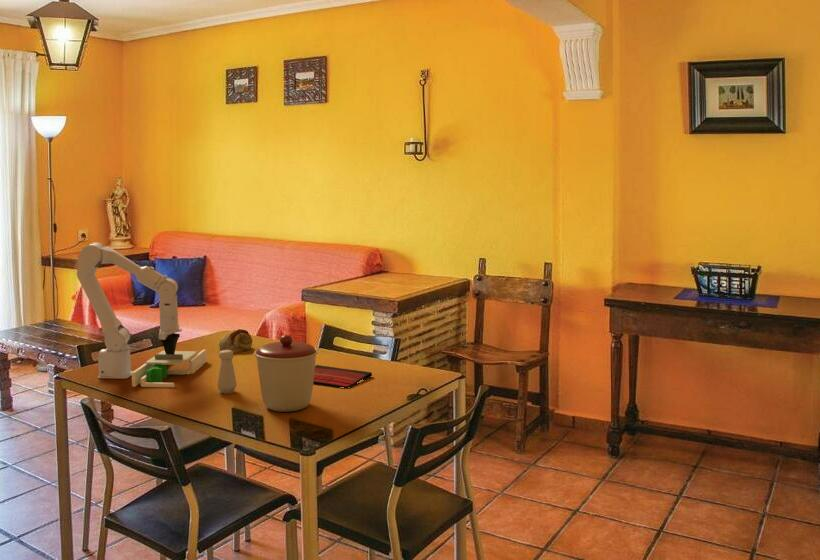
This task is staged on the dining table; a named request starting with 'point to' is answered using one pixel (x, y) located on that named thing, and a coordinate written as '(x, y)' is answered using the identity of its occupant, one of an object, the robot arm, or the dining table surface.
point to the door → (172, 358)
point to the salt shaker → (226, 373)
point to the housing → (140, 373)
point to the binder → (338, 376)
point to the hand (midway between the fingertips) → (170, 356)
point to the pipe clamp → (156, 373)
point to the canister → (286, 374)
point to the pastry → (236, 341)
